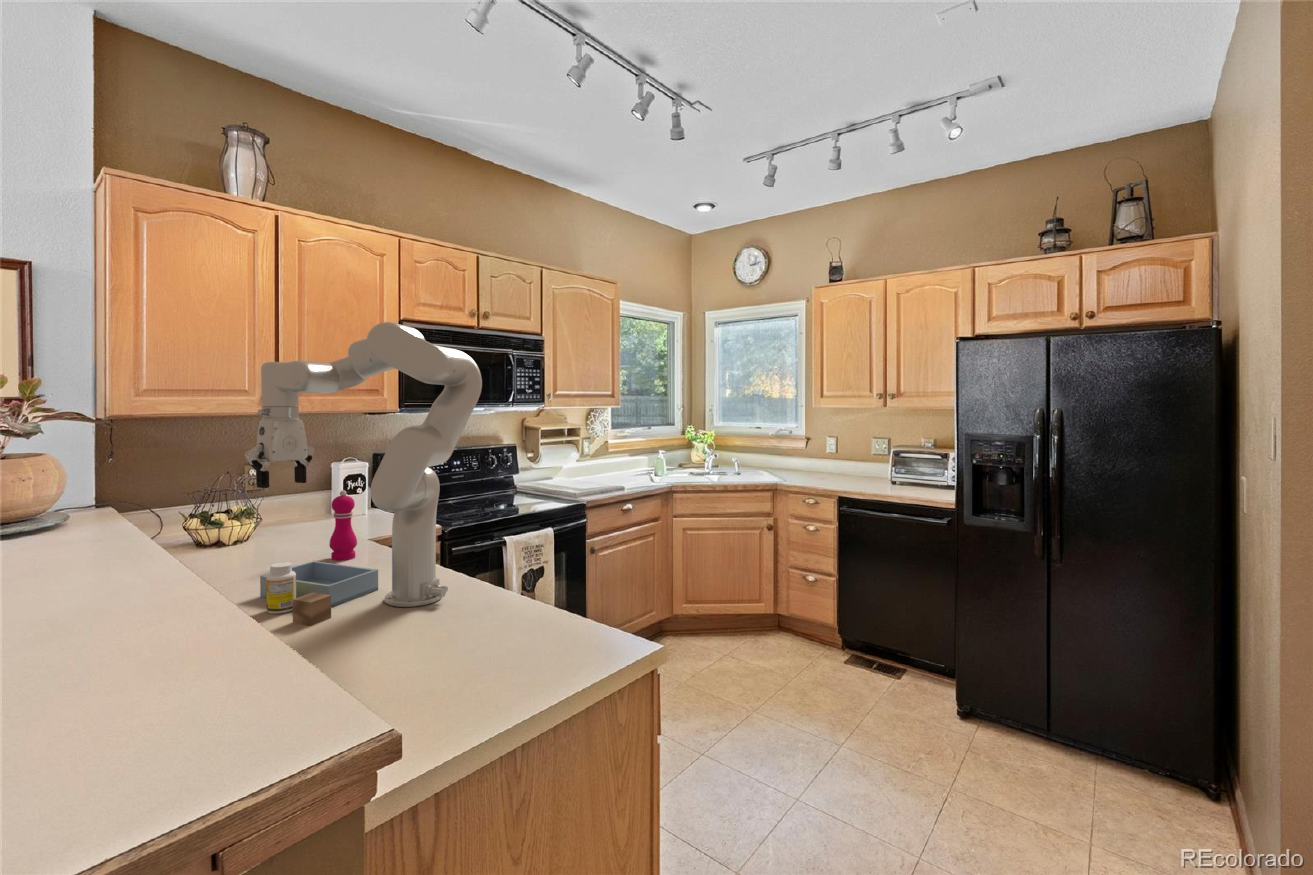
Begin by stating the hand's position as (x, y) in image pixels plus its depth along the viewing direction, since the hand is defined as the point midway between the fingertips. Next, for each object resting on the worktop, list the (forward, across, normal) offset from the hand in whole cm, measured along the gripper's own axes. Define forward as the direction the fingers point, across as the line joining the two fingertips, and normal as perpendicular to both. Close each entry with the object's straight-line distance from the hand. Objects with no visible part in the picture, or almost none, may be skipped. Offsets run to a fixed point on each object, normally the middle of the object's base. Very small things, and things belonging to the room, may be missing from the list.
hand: (282, 485), depth 144 cm
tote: (+26, +2, -10) cm, 28 cm away
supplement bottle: (+26, -10, -12) cm, 31 cm away
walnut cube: (+26, -12, -23) cm, 37 cm away
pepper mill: (+26, +28, +12) cm, 40 cm away
